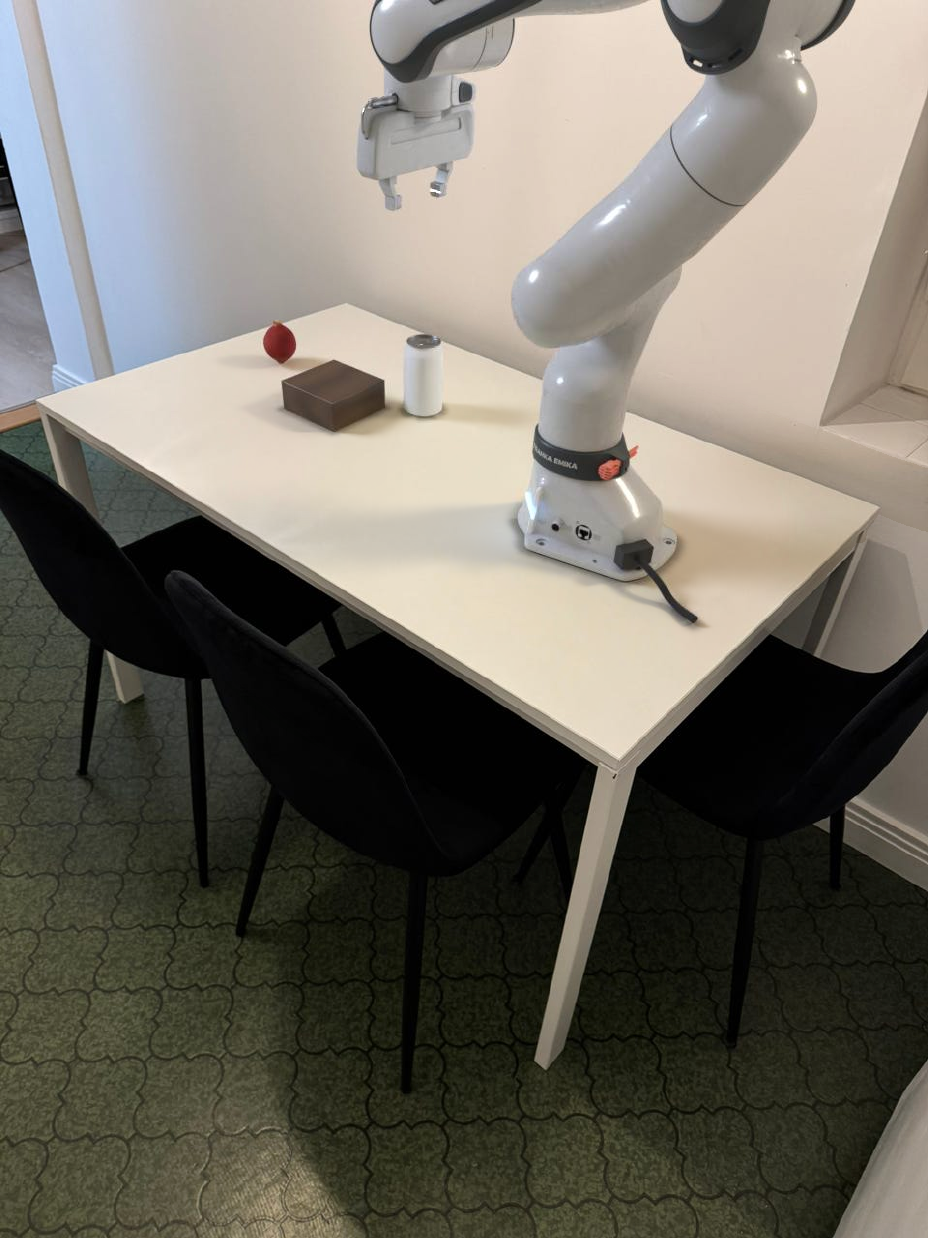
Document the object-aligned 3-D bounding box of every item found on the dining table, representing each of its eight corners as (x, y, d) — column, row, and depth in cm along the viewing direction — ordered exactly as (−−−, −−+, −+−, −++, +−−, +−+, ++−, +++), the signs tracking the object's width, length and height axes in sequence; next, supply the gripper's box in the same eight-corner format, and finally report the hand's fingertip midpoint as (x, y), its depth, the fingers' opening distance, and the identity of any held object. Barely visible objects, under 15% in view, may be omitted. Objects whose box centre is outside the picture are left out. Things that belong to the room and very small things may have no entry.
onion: (287, 353, 169) (283, 311, 164) (303, 364, 165) (300, 321, 160) (259, 361, 166) (254, 318, 161) (275, 372, 162) (271, 328, 157)
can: (399, 402, 155) (399, 334, 147) (436, 398, 157) (437, 331, 149) (409, 419, 150) (409, 350, 143) (446, 415, 152) (448, 347, 144)
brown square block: (385, 407, 153) (384, 379, 150) (334, 432, 146) (332, 403, 143) (335, 386, 159) (333, 358, 156) (283, 408, 152) (281, 380, 148)
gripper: (380, 103, 110) (381, 223, 119) (484, 84, 122) (478, 193, 131) (343, 95, 113) (347, 212, 122) (448, 77, 125) (445, 184, 134)
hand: (416, 202), depth 127 cm, fingers open, 8 cm apart
